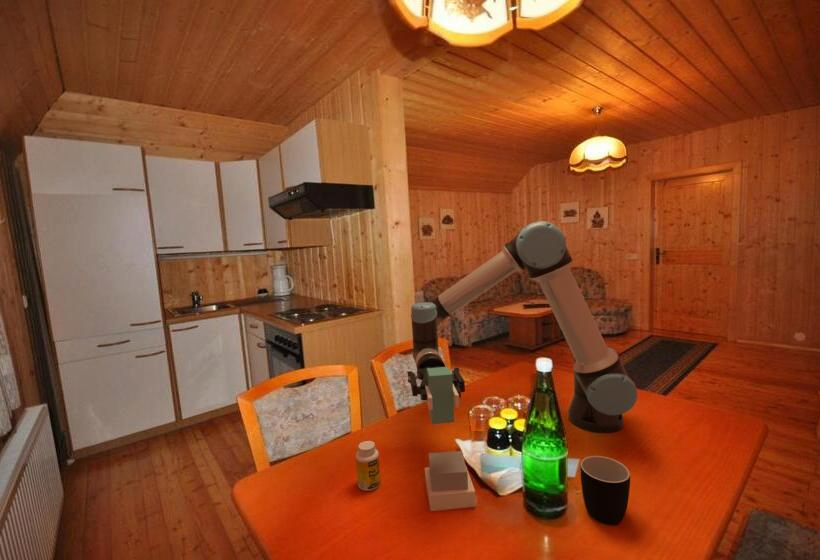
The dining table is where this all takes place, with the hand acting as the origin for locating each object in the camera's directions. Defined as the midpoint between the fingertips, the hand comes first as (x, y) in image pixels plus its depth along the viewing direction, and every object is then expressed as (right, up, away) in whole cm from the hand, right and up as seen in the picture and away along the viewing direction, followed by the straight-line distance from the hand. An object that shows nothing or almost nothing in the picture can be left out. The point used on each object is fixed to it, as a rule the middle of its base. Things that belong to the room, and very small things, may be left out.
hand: (444, 402), depth 78 cm
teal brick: (0, -5, +6) cm, 8 cm away
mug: (+33, -23, 0) cm, 40 cm away
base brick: (+2, -24, +7) cm, 25 cm away
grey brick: (+2, -20, +7) cm, 21 cm away
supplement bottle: (-17, -24, +12) cm, 32 cm away
